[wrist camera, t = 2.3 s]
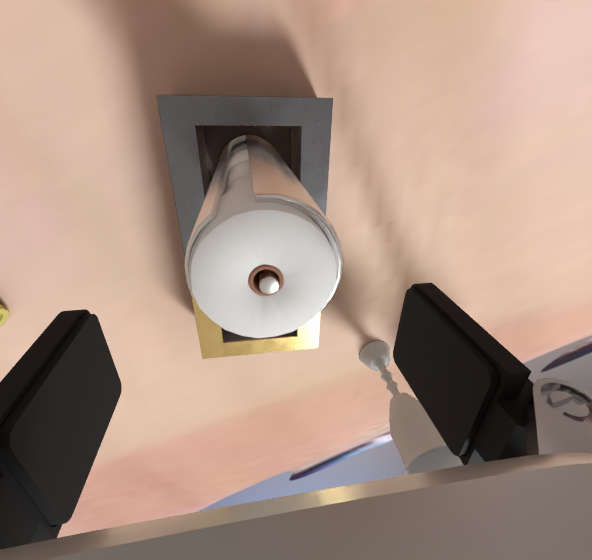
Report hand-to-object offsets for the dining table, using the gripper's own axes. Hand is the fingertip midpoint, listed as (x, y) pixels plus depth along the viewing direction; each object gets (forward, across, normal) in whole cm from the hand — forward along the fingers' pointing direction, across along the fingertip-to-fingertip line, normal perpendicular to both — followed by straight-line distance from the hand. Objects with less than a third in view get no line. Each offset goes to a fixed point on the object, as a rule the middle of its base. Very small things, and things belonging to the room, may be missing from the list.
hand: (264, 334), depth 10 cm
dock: (+28, -1, +6) cm, 28 cm away
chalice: (+28, -19, +28) cm, 44 cm away
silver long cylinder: (+28, -1, 0) cm, 28 cm away
